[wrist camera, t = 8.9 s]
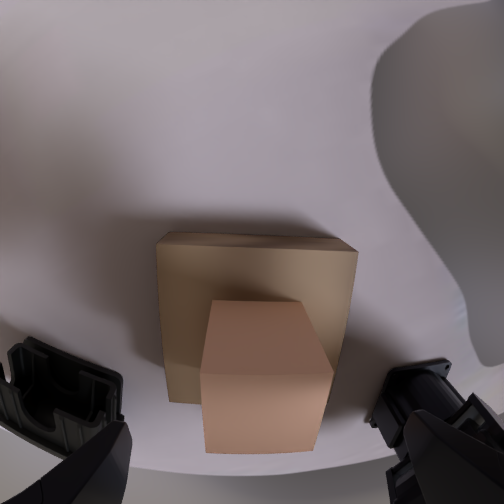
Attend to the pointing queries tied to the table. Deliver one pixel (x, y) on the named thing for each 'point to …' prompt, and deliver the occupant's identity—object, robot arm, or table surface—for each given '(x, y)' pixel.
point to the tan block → (246, 291)
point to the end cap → (57, 397)
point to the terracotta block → (262, 378)
